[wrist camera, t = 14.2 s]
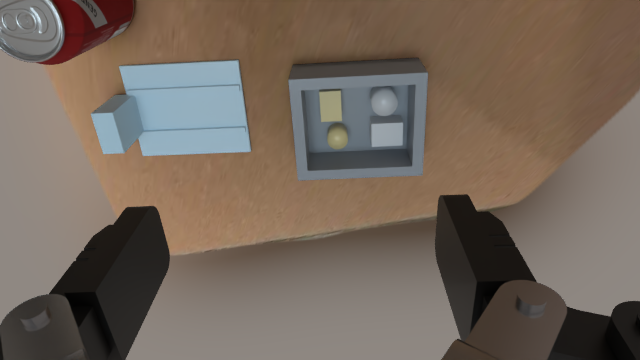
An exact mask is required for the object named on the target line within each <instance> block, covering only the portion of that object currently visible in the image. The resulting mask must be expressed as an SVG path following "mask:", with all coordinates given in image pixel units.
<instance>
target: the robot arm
mask: <svg viewBox="0 0 640 360" xmlns="http://www.w3.org/2000/svg"><path fill="white" fill-rule="evenodd" d="M435 250H436V251H435V252H436V259H437V264H438V267H439V270H440V273H441V277H442V279H443V283H444V286H445V289H446V293H447V296H448V299H449V302H450V306H451V309H452V312H453V315H454V318H455V321H456V325H457V328H458V331H459V334H460V338H461V340H460V339H457V340H455V341H454V342H453V343H452V345H451V346H450V347H449V349H448V350H447V352H446V354H445V355H444V356H443V358H442V359H441V360H640V301H628V302H623V303H621V304H618V305H617V306H616V307H615V308H614V309H613V312H612V314H611V317H609V316H604V315H599V314H594V313H589V312H584V311H580V310H576V309H573V308H569V307H567V306H566V304H565V302H564V300H563V299H562V298H561V296H560V295H559V294H558V293H557V292H555V291H554V290H552V289H551V288H549V287H547V286H545V285H543V284H541V283H537V282H536V280H535V278H534V276H533V275H532V273H531V271H530V269H529V268H528V266H527V264H526V262H525V261H524V259H523V257H522V255H521V254H520V252H519V250H518V249H517V247H515V243H514V241H513V240H512V238H511V237H510V236H509V233H508V231H507V229H506V227H505V226H504V224H503V223H502V221H500V220H499V219H498V218H496V217H495V216H494V215H492V214H491V213H490V212H488V211H486V212H477V211H476V209H475V207H474V205H473V203H472V201H471V199H470V197H469V196H468V195H467V194H464V195H441V196H440V197H439V200H438V210H437V224H436V237H435ZM169 261H170V255H169V248H168V245H167V241H166V237H165V234H164V230H163V226H162V223H161V219H160V215H159V212H158V210H157V208H156V207H154V206H143V207H127V208H125V210H124V211H123V212H122V214H121V215H120V216H119V218H118V219H117V220H116V222H115V223H114V225H108V226H107V227H105V228H104V229H102V230H101V231H100V232H98V233H97V234H95V235H94V236H93V237H92V238H91V240H90V241H89V242H88V244H87V245H86V246H85V248H84V251H82V252H81V253H80V254H79V255H78V257H77V258H76V261H74V262H73V263H72V264H71V266H70V267H69V268H68V270H67V271H66V272H65V274H64V275H63V276H62V278H61V279H60V280H59V281H58V283H57V284H56V285H55V287H54V288H53V289H52V290H51V292H50V293H49V294H46V295H41V296H37V297H35V298H32V299H29V300H27V301H25V302H23V303H22V304H20V305H18V306H17V307H15V308H14V309H13V310H12V311H10V312H9V314H7V315H6V317H5V318H4V319H3V321H2V323H1V325H0V360H125V359H126V357H127V355H128V353H129V350H130V348H131V346H132V344H133V342H134V340H135V338H136V336H137V334H138V331H139V330H140V328H141V325H142V323H143V321H144V319H145V317H146V315H147V313H148V311H149V309H150V306H151V304H152V302H153V300H154V298H155V296H156V294H157V292H158V290H159V287H160V286H161V284H162V281H163V279H164V277H165V275H166V273H167V270H168V268H169Z"/></svg>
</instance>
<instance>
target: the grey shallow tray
mask: <svg viewBox="0 0 640 360" xmlns="http://www.w3.org/2000/svg"><path fill="white" fill-rule="evenodd" d="M288 81H289V91H290V102H291V112H292V123H293V133H294V143H295V154H296V164H297V175H298V180H321V179H345V178H369V177H393V176H417V175H423V156H424V138H425V119H426V101H427V82H428V72H427V70H426V69H425V67H424V66H423V64H422V62H421V61H420V59H419V58H404V59H386V60H368V61H349V62H331V63H313V64H295V65H292V69H291V72H290V76H289V80H288Z"/></svg>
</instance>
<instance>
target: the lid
mask: <svg viewBox="0 0 640 360" xmlns="http://www.w3.org/2000/svg"><path fill="white" fill-rule="evenodd" d="M119 68H120V72H121V75H122V79H123V83H124V87H125V90H126V95H114V96H113V97H112V98H110V99H109V100H108V101H106V102H105V103H104V104H103V105H101V106H100V107H99V108H97V109H96V110H95V111H94V112H92V113H91V116H92V119H93V122H94V126H95V129H96V132H97V135H98V138H99V142H100V145H101V148H102V151H103V154H113V153H125V152H126V151H127V149H128V148H129V147H130V146H131V145H132V144H133V143H134V142H135V141H136V140H137V139H139V143H140V146H141V150H142V154H143V156H154V155H179V154H204V153H229V152H251V143H250V136H249V129H248V122H247V114H246V107H245V100H244V93H243V86H242V79H241V72H240V65H239V60H219V61H199V62H179V63H159V64H138V65H121V66H119Z"/></svg>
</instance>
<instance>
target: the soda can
mask: <svg viewBox="0 0 640 360" xmlns="http://www.w3.org/2000/svg"><path fill="white" fill-rule="evenodd" d="M133 13H134V0H0V49H1V50H2V51H4V52H5V53H7V54H8V55H10V56H12V57H13V58H16V59H19V60H21V61H25V62H32V63H39V64H46V65H54V64H60V63H63V62H66V61H68V60H70V59H72V58H74V57H76V56H78V55H80V54H82V53H84V52H86V51H88V50H90V49H91V48H93V47H95V46H97V45H99V44H101V43H103V42H105V41H107V40H109V39H111V38H113V37H115V36H117V35H119V34H121V33H122V32H123V31H125V30H126V28H127V27H128V26H129V24H130V23H131V20H132V18H133Z"/></svg>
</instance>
